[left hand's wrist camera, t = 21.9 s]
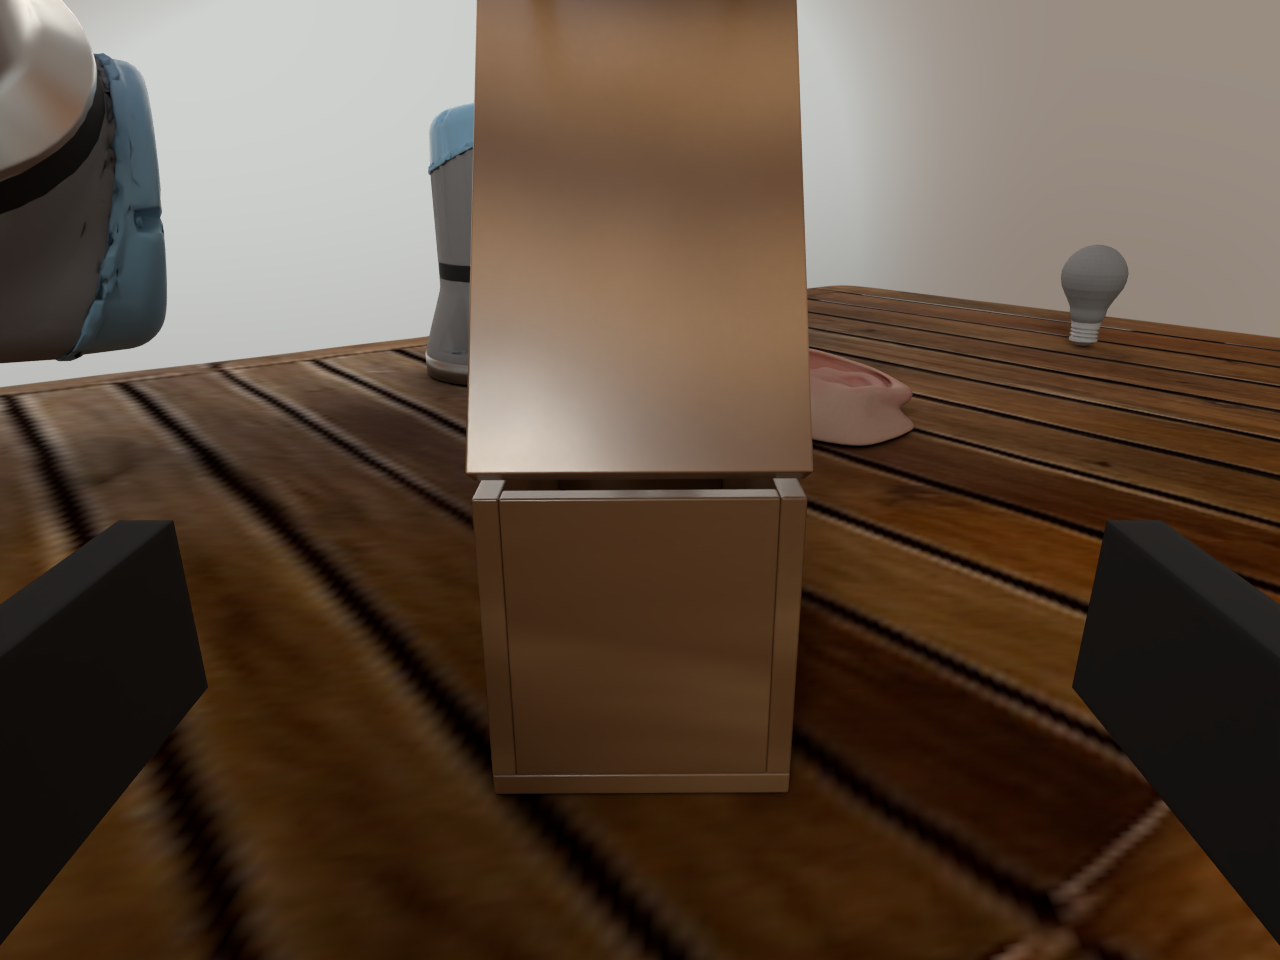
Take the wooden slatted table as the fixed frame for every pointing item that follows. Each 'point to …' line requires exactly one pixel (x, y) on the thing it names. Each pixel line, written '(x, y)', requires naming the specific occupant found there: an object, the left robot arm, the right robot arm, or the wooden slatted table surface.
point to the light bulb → (1092, 288)
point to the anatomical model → (855, 402)
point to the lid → (637, 243)
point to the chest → (640, 633)
